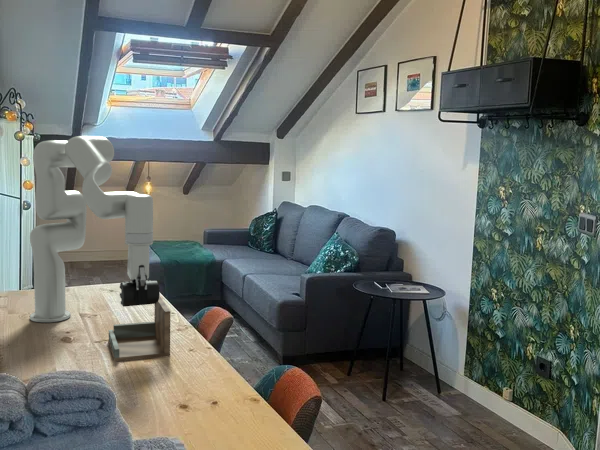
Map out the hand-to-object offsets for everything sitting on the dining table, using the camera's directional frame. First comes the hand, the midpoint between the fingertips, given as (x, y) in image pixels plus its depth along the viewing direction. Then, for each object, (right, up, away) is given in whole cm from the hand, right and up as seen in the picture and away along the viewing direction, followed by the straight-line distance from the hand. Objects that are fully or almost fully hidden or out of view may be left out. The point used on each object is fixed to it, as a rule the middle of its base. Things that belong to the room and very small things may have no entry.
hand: (139, 299), depth 174 cm
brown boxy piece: (-2, -15, +5) cm, 16 cm away
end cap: (0, -2, 0) cm, 2 cm away
